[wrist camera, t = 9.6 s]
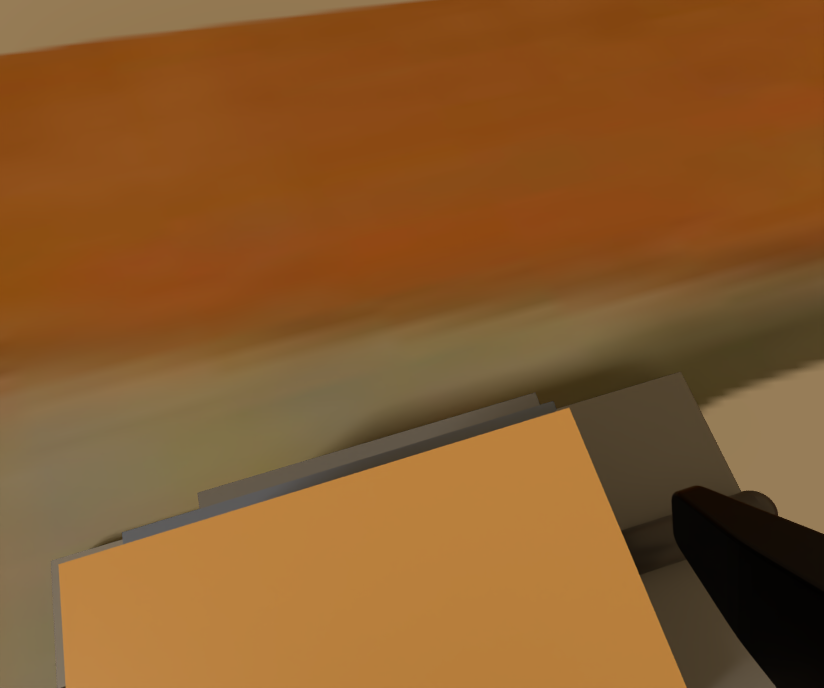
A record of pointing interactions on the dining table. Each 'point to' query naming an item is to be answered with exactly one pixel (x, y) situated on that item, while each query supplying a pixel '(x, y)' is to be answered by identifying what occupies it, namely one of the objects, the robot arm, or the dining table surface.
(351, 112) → the dining table surface
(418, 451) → the orange-capped square pillar
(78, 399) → the dining table surface
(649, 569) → the end holder
